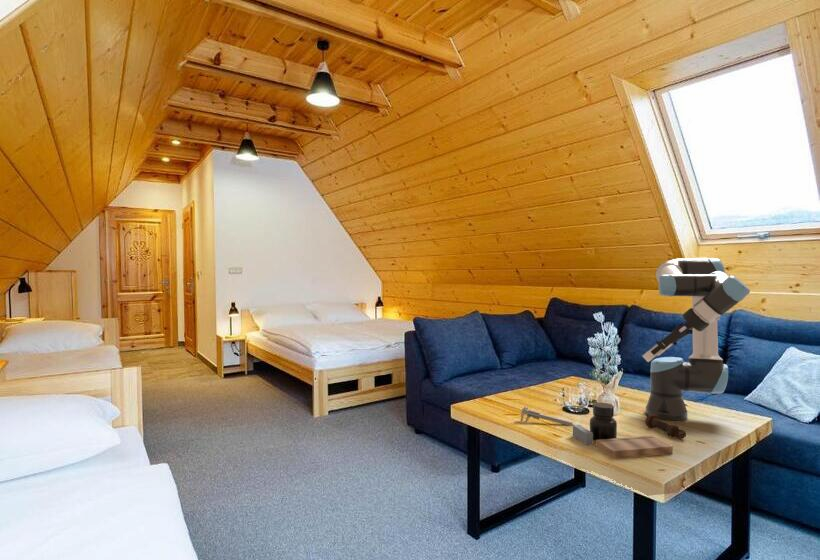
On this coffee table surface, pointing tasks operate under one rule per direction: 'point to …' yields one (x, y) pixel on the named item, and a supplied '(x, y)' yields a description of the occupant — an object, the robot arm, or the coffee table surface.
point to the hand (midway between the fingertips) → (650, 356)
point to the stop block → (583, 434)
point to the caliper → (542, 416)
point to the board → (634, 447)
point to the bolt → (664, 426)
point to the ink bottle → (603, 422)
